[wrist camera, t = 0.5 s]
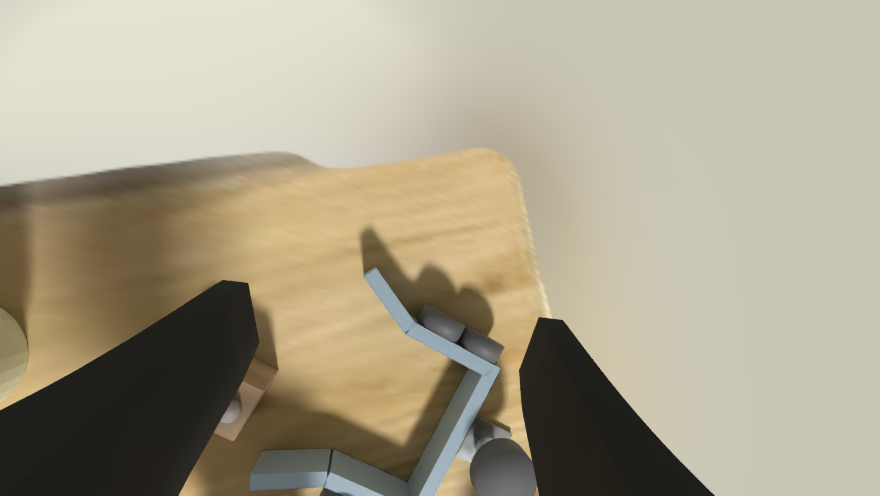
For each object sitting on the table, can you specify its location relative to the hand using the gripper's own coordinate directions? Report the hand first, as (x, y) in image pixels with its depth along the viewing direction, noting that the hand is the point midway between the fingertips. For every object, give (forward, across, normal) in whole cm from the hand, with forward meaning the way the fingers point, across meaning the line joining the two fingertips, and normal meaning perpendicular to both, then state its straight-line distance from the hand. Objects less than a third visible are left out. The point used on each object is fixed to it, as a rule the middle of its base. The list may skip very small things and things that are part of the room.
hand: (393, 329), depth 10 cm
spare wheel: (+10, -9, +25) cm, 28 cm away
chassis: (+14, +1, +23) cm, 27 cm away
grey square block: (+13, -8, +27) cm, 31 cm away
